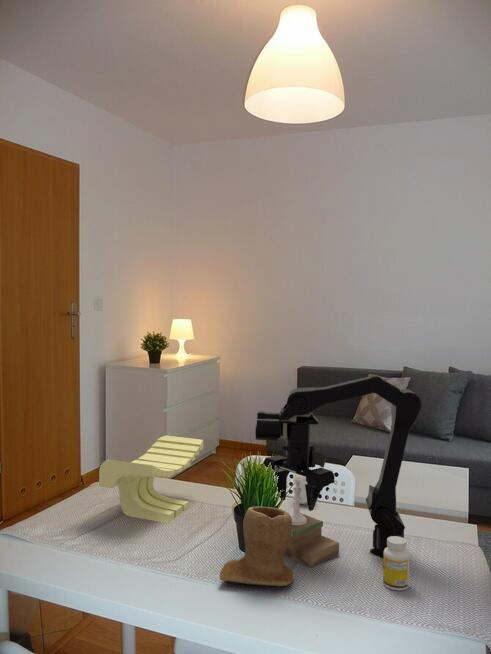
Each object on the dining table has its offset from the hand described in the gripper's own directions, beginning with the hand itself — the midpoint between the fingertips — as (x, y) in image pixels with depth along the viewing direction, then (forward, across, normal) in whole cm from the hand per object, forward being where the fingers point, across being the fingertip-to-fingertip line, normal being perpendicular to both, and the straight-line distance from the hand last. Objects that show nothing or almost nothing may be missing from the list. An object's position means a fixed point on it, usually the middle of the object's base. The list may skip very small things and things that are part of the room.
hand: (296, 505), depth 138 cm
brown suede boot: (+11, -5, +17) cm, 21 cm away
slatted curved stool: (+11, +43, +13) cm, 46 cm away
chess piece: (+4, 0, 0) cm, 4 cm away
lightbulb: (+11, +20, -24) cm, 33 cm away
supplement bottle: (+11, -26, -3) cm, 28 cm away
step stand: (+10, -3, 0) cm, 11 cm away
